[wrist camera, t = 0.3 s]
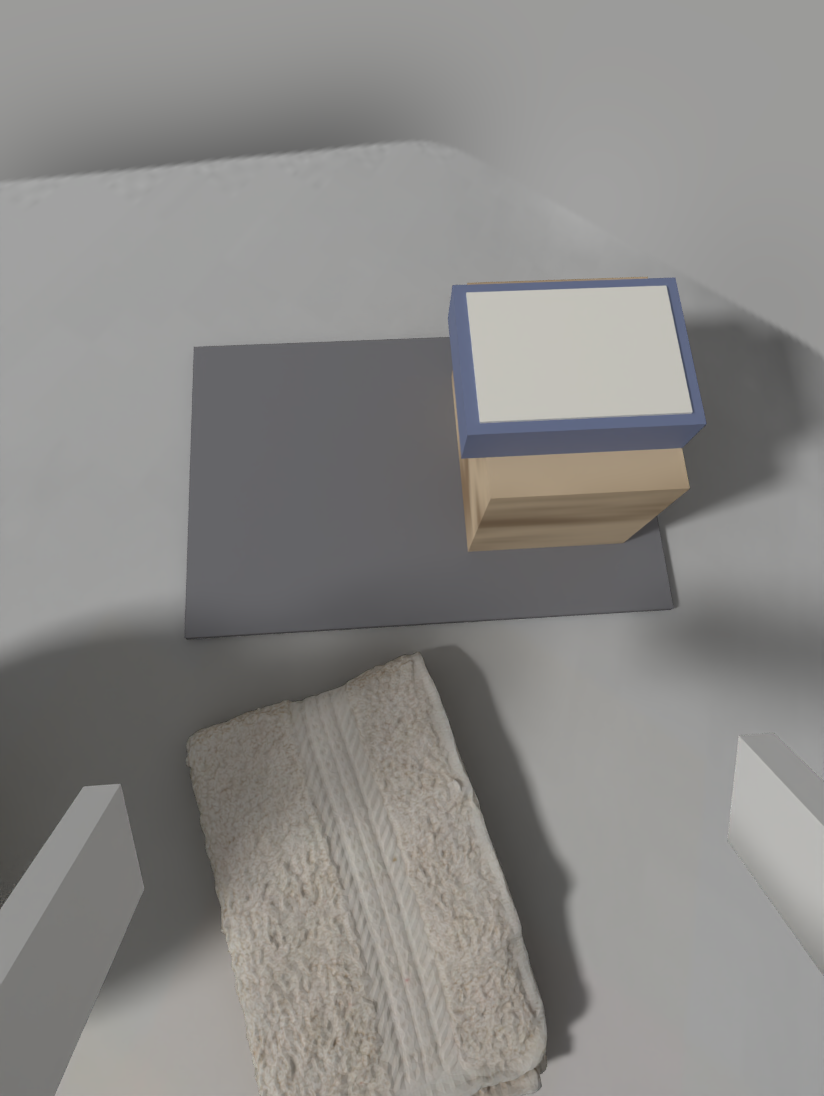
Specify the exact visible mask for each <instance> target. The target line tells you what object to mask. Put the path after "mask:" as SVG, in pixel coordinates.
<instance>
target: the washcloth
mask: <svg viewBox="0 0 824 1096" xmlns="http://www.w3.org/2000/svg"><path fill="white" fill-rule="evenodd" d="M186 749H187V753H188V756H187V757H186V766H189V767H190V768H191V772H190V777H191V780H192V786H193V792H194V794H195V797H196V801H197V804H198V809H199V810H200V812H201V815H200V825H201V828H202V831H203V833H204V834H205V838H206V842H205V847H206V852H207V856H208V858H209V859H210V862H211V868H212V872H213V874H214V878H215V892H216V894H217V896H218V898H219V902H220V905H221V918H222V923H221V932H223V934H225V935H226V942H227V943H228V948H229V950H228V952H230V953H231V956H232V964H231V967H232V970H233V971H234V972H235V978H236V983H235V989H236V993H237V995H238V996H239V1002H240V1005H241V1006H242V1010H243V1013H244V1016H245V1026H246V1031H247V1033H246V1038H247V1040H248V1041H249V1049H250V1051H251V1053H252V1056H253V1060H252V1061H253V1065H254V1066H255V1079H256V1081H257V1084H258V1089H259V1094H260V1096H523V1095H526V1094H530V1093H535V1092H537V1091H538V1090H539V1089H540V1088H541V1087H542V1085H541V1080H540V1074H542V1073H543V1072H544V1071H545V1070H546V1067H547V1056H546V1054H545V1053H546V1044H547V1027H546V1019H545V1010H544V1006H543V1002H542V999H541V996H540V993H539V990H538V987H537V983H536V980H535V978H534V976H533V971H532V969H531V966H530V961H529V956H528V952H527V949H526V947H525V943H524V940H523V936H522V926H521V923H520V919H519V915H518V913H517V910H516V908H515V906H514V902H513V899H512V897H511V893H510V890H509V888H508V885H507V882H506V879H505V876H504V874H503V871H502V868H501V865H500V863H499V861H498V858H497V855H496V852H495V849H494V847H493V845H492V841H491V839H490V837H489V833H488V831H487V828H486V825H485V822H484V818H483V814H482V813H481V810H480V805H479V800H478V798H477V796H476V794H475V791H474V789H473V787H472V785H471V783H470V779H469V777H468V775H467V772H466V770H465V767H464V764H463V762H462V759H461V756H460V754H459V751H458V749H457V746H456V743H455V740H454V736H453V733H452V730H451V727H450V722H449V719H448V717H447V715H446V712H445V709H444V707H443V705H442V702H441V698H440V695H439V693H438V690H437V688H436V686H435V684H434V681H433V679H432V678H431V677H430V674H429V672H428V671H427V668H426V666H425V663H424V659H423V657H422V655H421V654H420V652H416V653H414V654H413V655H403V656H400V657H398V658H397V659H395V660H392V661H390V662H387V663H386V664H385V665H378V666H375V667H374V668H373V669H369V670H367V671H365V672H364V673H362V674H361V675H359V676H358V677H356V678H354V679H352V680H349V681H347V683H346V684H345V685H343V686H341V687H338V688H335V689H333V690H330V691H326V692H323V693H320V694H319V695H315V696H310V697H307V698H306V699H304V700H300V701H295V702H292V701H289V700H284V701H282V702H280V703H276V704H274V705H271V706H266V707H264V708H257V710H255V711H248V712H246V713H244V714H242V715H239V716H237V717H235V718H233V719H230V720H229V721H228V722H225V723H219V724H215V725H212V726H211V727H208V728H203V729H200V730H199V731H197V732H195V733H194V734H193V735H192V736H190V737H189V739H188V741H187V744H186Z"/></svg>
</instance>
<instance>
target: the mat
mask: <svg viewBox="0 0 824 1096" xmlns="http://www.w3.org/2000/svg"><path fill="white" fill-rule="evenodd" d="M452 371H453V366H452V356H451V345H450V337H439V338H413V339H387V340H361V341H335V342H309V343H283V344H257V345H231V346H205V347H194V360H193V392H192V423H191V454H190V485H189V516H188V548H187V579H186V610H185V638H186V639H197V638H213V637H230V636H246V635H262V634H279V633H295V632H312V631H328V630H345V629H361V628H378V627H394V626H410V625H427V624H443V623H460V622H476V621H493V620H509V619H526V618H542V617H558V616H575V615H591V614H608V613H624V612H641V611H657V610H671V609H673V608H674V607H673V602H672V596H671V591H670V585H669V580H668V574H667V569H666V563H665V558H664V552H663V547H662V541H661V536H660V530H659V525H658V519H657V516H656V517H655V518H653V519H652V520H651V521H650V522H648V523H647V524H646V525H645V526H644V527H642V528H641V529H640V530H639V531H637V532H636V533H635V534H634V535H633V536H631V537H630V538H629V539H628V540H626V541H625V542H624V543H617V544H599V545H581V546H563V547H545V548H527V549H508V550H490V551H472V552H468V547H467V536H466V525H465V515H464V504H463V494H462V483H461V472H460V462H459V451H458V441H457V430H456V419H455V409H454V398H453V388H452Z"/></svg>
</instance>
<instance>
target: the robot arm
mask: <svg viewBox="0 0 824 1096" xmlns="http://www.w3.org/2000/svg"><path fill="white" fill-rule="evenodd" d="M727 841H728V842H729V844H730V845H731V846H732V848H733V849H734V851H735V852H736V854H737V855H738V856H739V858H740V859H741V861H742V862H743V863H744V865H745V866H746V868H747V869H748V870H749V872H750V873H751V875H752V876H753V877H754V879H755V880H756V882H757V883H758V884H759V886H760V887H761V889H762V890H763V892H764V893H765V894H766V896H767V897H768V899H769V900H770V901H771V903H772V904H773V906H774V907H775V908H776V910H777V911H778V913H779V914H780V915H781V917H782V918H783V920H784V921H785V922H786V924H787V925H788V927H789V928H790V929H791V931H792V932H793V934H794V935H795V937H796V938H797V939H798V941H799V942H800V944H801V945H802V946H803V948H804V949H805V951H806V952H807V953H808V955H809V956H810V958H811V959H812V960H813V962H814V963H815V965H816V966H817V967H818V969H819V970H820V972H821V973H822V975H823V976H824V781H823V780H822V779H821V778H820V777H819V776H818V775H817V774H816V773H815V772H814V771H813V770H812V769H811V768H810V767H809V766H808V765H807V764H806V763H805V762H804V761H803V760H801V759H800V758H799V757H798V756H797V755H796V754H795V753H794V752H793V751H792V750H791V749H790V748H789V747H788V746H787V745H786V744H785V743H784V742H783V741H782V740H781V739H780V738H779V737H778V736H777V735H776V734H775V733H765V734H752V735H739V739H738V748H737V757H736V766H735V775H734V784H733V793H732V802H731V811H730V820H729V829H728V838H727ZM143 891H144V884H143V880H142V875H141V871H140V866H139V862H138V858H137V853H136V849H135V844H134V840H133V835H132V831H131V827H130V822H129V818H128V813H127V809H126V804H125V800H124V796H123V791H122V787H121V784H109V785H96V786H84V787H83V788H82V790H81V791H80V793H79V794H78V795H77V797H76V798H75V800H74V801H73V803H72V804H71V806H70V807H69V809H68V810H67V812H66V813H65V815H64V816H63V818H62V819H61V821H60V822H59V823H58V825H57V826H56V828H55V829H54V831H53V832H52V834H51V835H50V837H49V838H48V840H47V841H46V843H45V844H44V846H43V847H42V849H41V850H40V851H39V853H38V854H37V856H36V857H35V859H34V860H33V862H32V863H31V865H30V866H29V868H28V869H27V871H26V872H25V874H24V875H23V877H22V878H21V879H20V881H19V882H18V884H17V885H16V887H15V888H14V890H13V891H12V893H11V894H10V896H9V897H8V899H7V900H6V902H5V903H4V905H3V906H2V907H1V909H0V1096H54V1095H55V1093H56V1091H57V1088H58V1086H59V1084H60V1081H61V1079H62V1077H63V1075H64V1072H65V1070H66V1068H67V1065H68V1063H69V1061H70V1058H71V1056H72V1054H73V1052H74V1049H75V1047H76V1045H77V1042H78V1040H79V1038H80V1036H81V1033H82V1031H83V1029H84V1026H85V1024H86V1022H87V1020H88V1017H89V1015H90V1013H91V1010H92V1008H93V1006H94V1003H95V1001H96V999H97V997H98V994H99V992H100V990H101V987H102V985H103V983H104V981H105V978H106V976H107V974H108V971H109V969H110V967H111V965H112V962H113V960H114V958H115V955H116V953H117V951H118V948H119V946H120V944H121V942H122V939H123V937H124V935H125V932H126V930H127V928H128V926H129V923H130V921H131V919H132V916H133V914H134V912H135V909H136V907H137V905H138V903H139V900H140V898H141V896H142V893H143Z"/></svg>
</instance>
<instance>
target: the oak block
mask: <svg viewBox="0 0 824 1096" xmlns="http://www.w3.org/2000/svg"><path fill="white" fill-rule="evenodd" d="M620 279H648V277H627V278H598V279H569V280H540V281H511V282H481V283H467V285H475V284H504V283H533V282H562V281H591V280H620ZM452 388H453V398H454V409H455V419H456V430H457V441H458V451H459V462H460V472H461V483H462V494H463V504H464V515H465V525H466V536H467V547H468V552H472V551H490V550H508V549H527V548H545V547H563V546H581V545H599V544H617V543H624V542H625V541H626V540H628V539H629V538H630V537H631V536H633V535H634V534H635V533H636V532H637V531H639V530H640V529H641V528H642V527H644V526H645V525H646V524H647V523H648V522H650V521H651V520H652V519H653V518H655V517H656V516H657V515H658V514H659V513H661V512H662V511H663V510H664V509H666V508H667V507H668V506H669V505H670V504H672V503H673V502H674V501H675V500H676V499H678V498H679V497H680V496H681V495H683V494H684V493H685V492H686V491H687V490H689V489H690V486H689V481H688V476H687V471H686V466H685V461H684V456H683V451H682V448H674V449H653V450H633V451H612V452H591V453H570V454H549V455H528V456H507V457H487V458H466V459H461V450H460V440H459V429H458V419H457V408H456V398H455V387H454V377H453V371H452Z"/></svg>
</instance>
